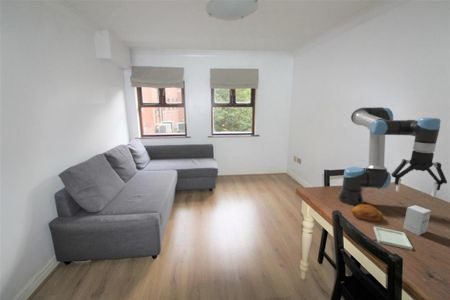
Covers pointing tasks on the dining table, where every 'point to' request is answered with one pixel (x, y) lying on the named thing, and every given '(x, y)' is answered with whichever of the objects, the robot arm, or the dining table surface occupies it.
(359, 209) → the croissant
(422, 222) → the supplement box
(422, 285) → the dining table surface
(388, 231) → the pale green square tray
